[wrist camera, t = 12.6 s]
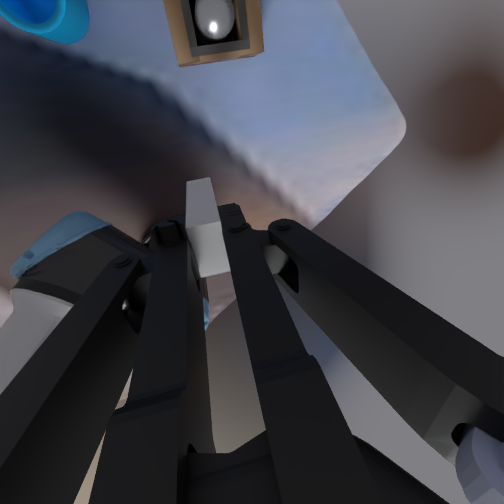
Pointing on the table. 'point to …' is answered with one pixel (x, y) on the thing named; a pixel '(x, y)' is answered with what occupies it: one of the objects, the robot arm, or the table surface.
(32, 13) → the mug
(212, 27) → the steel peg
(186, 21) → the socket block
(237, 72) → the table surface
